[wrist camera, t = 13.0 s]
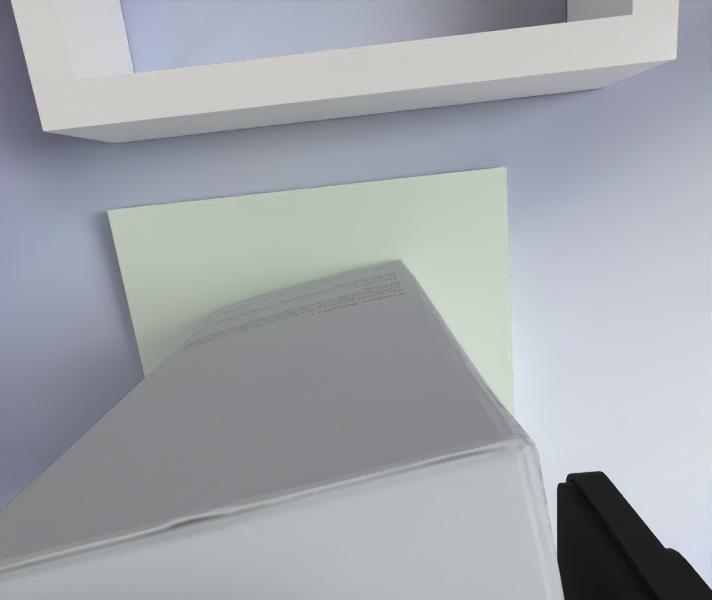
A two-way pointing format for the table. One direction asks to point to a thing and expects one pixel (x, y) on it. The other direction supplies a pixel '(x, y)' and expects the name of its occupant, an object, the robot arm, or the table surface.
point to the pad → (325, 256)
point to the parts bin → (322, 71)
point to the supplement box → (296, 467)
